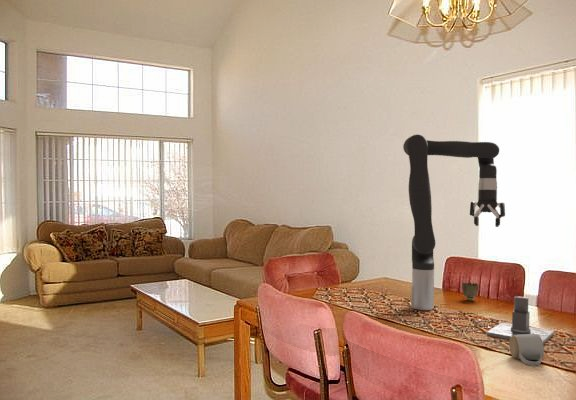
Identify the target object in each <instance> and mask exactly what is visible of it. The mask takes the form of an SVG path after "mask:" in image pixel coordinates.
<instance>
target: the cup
mask: <svg viewBox="0 0 576 400" xmlns="http://www.w3.org/2000/svg"><path fill="white" fill-rule="evenodd" d="M461 288H462V289H461V290H462V294H463V296H464V297H465V299H466V301H468V302H472V301H473V302H474V300H475V297H476V296H478V292H479V284H478V283H477V282H475V283H474V282H464V281H463V282H461Z"/></svg>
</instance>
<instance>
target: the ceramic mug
mask: <svg viewBox="0 0 576 400" xmlns="http://www.w3.org/2000/svg"><path fill="white" fill-rule="evenodd" d="M508 345H509V352H510V355H511V356H512V357H513V358H514V359H516V360H520V361H522V363H524V364H526V365H528V366H530V367H535V366H536V367H537V366H540V365H541V363H542V360H543V358H544V357H545V356H544V355H545V346H544V344H543V341H542V339H541V337H540V335H539V334H520V335H513V336H511V337H510V340H509V339H508Z"/></svg>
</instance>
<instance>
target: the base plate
mask: <svg viewBox="0 0 576 400" xmlns="http://www.w3.org/2000/svg"><path fill="white" fill-rule="evenodd" d="M520 334H539V335H540V337H541V339H542V341H543V345H544V344H545V343H547V341H548V340H550V338H551V337H553V335H555V330H551V329H547V328H546V329H545V328H539V327H532V326H529V329H528V330H527V331H523V330H517V329H512V323H508V322H500V323H498V324H497V325H496V326H494V327H493V328H490V329H489V330H488V331H486V336H487V337H494V338H498V339H505V340H508V341H509V340H510V337H511V336H513V335H520Z"/></svg>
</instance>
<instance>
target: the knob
mask: <svg viewBox="0 0 576 400" xmlns="http://www.w3.org/2000/svg"><path fill="white" fill-rule="evenodd" d="M511 313H512V317H511V320H512V321H511V324H512V329H517V330H523V331H527V330H528V329H529V327H530V311H529V297H526V296H514V297H513V311H512V312H511Z"/></svg>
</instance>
